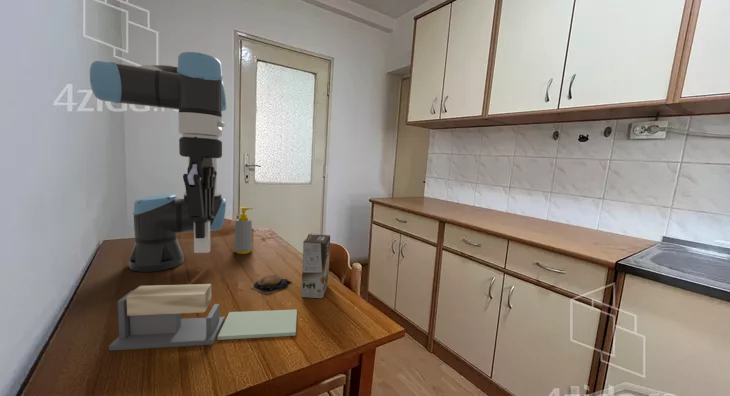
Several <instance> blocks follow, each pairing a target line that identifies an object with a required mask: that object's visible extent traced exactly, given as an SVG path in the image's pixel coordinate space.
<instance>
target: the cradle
mask: <svg viewBox="0 0 730 396" xmlns="http://www.w3.org/2000/svg"><path fill="white" fill-rule="evenodd" d="M134 290H135V289H134ZM134 290H133V289H132V290H130V291H129V292H128V293H127V294H125V295H124V296H123V297H122V298H120V299H119V300H117V316H118V317H117V318H118V337H116V339H115V340H113V341H112V342H111V343H110V344H109V346H108V351H122V350H124V351H125V350H141V349H142V350H143V349H145V350H146V349H157V348H161V349H162V348H175V347H176V348H177V347H178V348H179V347H195V346H210V345H214V343H215V341H216V339H217V338H218V335H219V333H220V331H221V328H222V326H223V324H224V322H225V316H220V304H219V303H214V305H212V307H211V309H210V311H209V312H208V314H207V316H206V317H193V318H192V317H188V318H185V317H184V318H182V313H179V314H156V315H134V316H127V298H126V297H127V296H128V295H129V294H130V293H132V292H133V291H134Z"/></svg>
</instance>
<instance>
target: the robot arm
mask: <svg viewBox="0 0 730 396" xmlns="http://www.w3.org/2000/svg"><path fill="white" fill-rule="evenodd" d="M177 57H178V58H177V66H174V65H166V64H165V65H162V64H152V65H151V64H150V65H148V64H143V65H140V66H135V65H130V64H129V65H128V64H122V63H116V62H112V61H101V60H96V61H93V62H92V63H91V64H90V67H89V83H90V88H91V91H92V94H93V95H94V97H96V99H98V100H100V101H103V102H111V103H114V104H126V105H137V106H146V107H157V108H162V109H163V108H164V109H171V110H178V133H179V134H180V135H182V136H181V137H180V138H179V139H178V143H179V145H178V147H179V148H178V150H179V152H178V153H179V156H182V157H183V158H184V157H185V158H187V159H188V160H187V163H188V167H187V173H183V176H182V180H183V182H184V186H185V191H184V192H183V198H178V196H177V195H176V194H175V193H166V194H165V193H163V194H155V195H149V196H143V197H140V198H138V199H136V200H135V201H134V202H133V213H132V215H133V229H134V246H133V248H132V251H131V254H130V257H129V261H128V269H130V270H131V271H133V272H134V271H135V272H139V273H141V272H142V273H148V272H149V273H150V272H159V271H165V270H169V269H172V268H173V269H174V268H176V267H178V266H181V264H183V263H184V260H185V259H184V253H183V250H182V248H181V246H180V243H179V241H178V234H179V233H193V253H194V254H196V253H197V254H208V253H210V252H211V232H213V231H214V232H215V231H220V230H221V229H222V228H223V225H224V223H225V222H224V221H225V215H226V206H227V205H226V204H227V200H226V198H225V197H222V192H221V191H219V190H218V188H217V186H218V185H217V184H218V183H217V182H218V181H217V180H218V179H217V174H218V173H217V169H218V167H217V166H218V165H217V164H218V163H217V159H221V158H222V156H223V141H222V140H221V139H219V138H221V137H222V135H223V134H222V133H223V129H222V128H223V127H225V126H226V125H225V124H226V123H225V122H224V121H223V120H222V118H223V117H222V116H223V113H222V112H224V111H226V110H227V103H226V102H227V101H226V99H227V98H226V91H225V86H224V80H223V74H222V73H223V71H222V70H223V69H222V62H221V61H220V60H219V59H218V58H216V57H214V56H212V55H209V54H206V53H201V52H196V51H184V52H180V53H179V54H178V56H177Z"/></svg>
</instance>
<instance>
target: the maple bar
mask: <svg viewBox="0 0 730 396" xmlns="http://www.w3.org/2000/svg"><path fill="white" fill-rule="evenodd" d="M126 298H127V316H134V315H156V314H179V313H181V314H195V313H196V314H197V313H199V314H200V313H205V312H206V310H207V309H208V307H209V306H210V304H211V303H212V283H201V284H200V283H197V284H192V283H191V284H190V283H189V284H157V285H156V284H155V285H139V286H138V287H136V288H135V289H134V291H133V292H132V293H130V294H129V295H128V296H127V297H126Z"/></svg>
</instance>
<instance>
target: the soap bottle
mask: <svg viewBox="0 0 730 396" xmlns="http://www.w3.org/2000/svg"><path fill="white" fill-rule="evenodd" d="M239 209H241V213H240V216H239V217H238V218H236V219H235V225H234V226H235V227H234V241H233V242H234V243H233V244H234V245H233V250H234V251H235V253H236V254H239V255H245V254H249V253H251V251H252V250H253V247H254V245H253V226H252V219H251V218H249V216H248V215H247V213H246V211H249V210H253V209H254V207H243V206H239Z"/></svg>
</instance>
